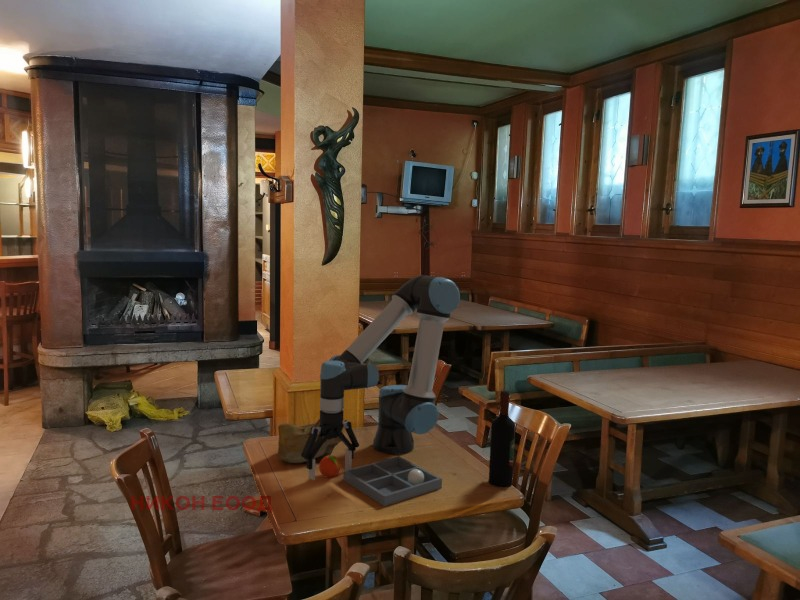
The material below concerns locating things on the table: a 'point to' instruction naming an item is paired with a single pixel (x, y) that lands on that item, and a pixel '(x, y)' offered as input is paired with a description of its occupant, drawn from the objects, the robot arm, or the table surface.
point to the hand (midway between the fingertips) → (330, 473)
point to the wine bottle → (502, 446)
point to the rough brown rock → (300, 442)
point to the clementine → (329, 466)
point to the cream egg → (415, 477)
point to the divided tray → (390, 480)
